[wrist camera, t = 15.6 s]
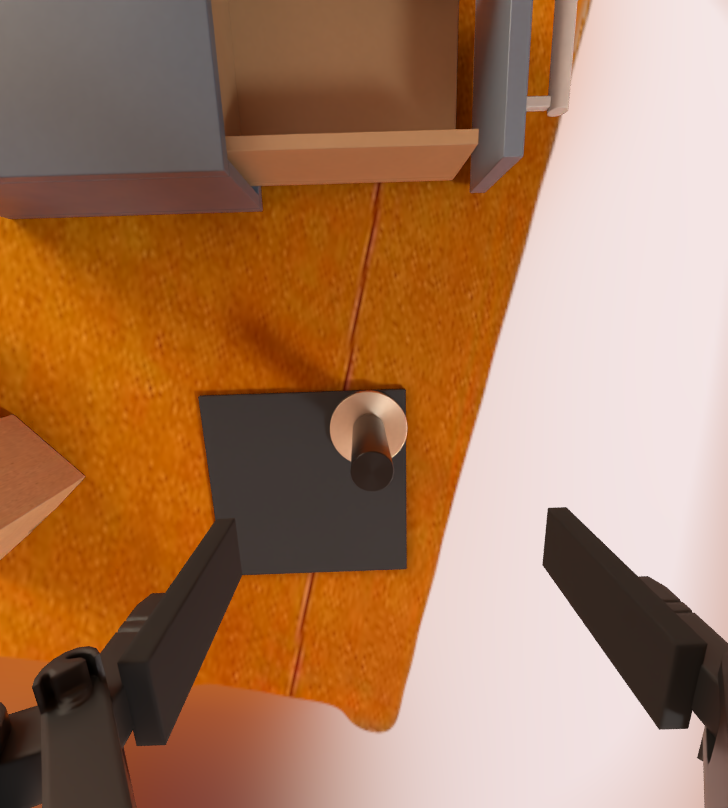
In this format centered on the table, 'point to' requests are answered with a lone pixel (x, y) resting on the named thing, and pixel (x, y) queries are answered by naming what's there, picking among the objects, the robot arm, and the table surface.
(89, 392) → the table surface
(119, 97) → the cabinet
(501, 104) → the drawer
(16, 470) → the sandwich container
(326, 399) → the mat
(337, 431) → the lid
